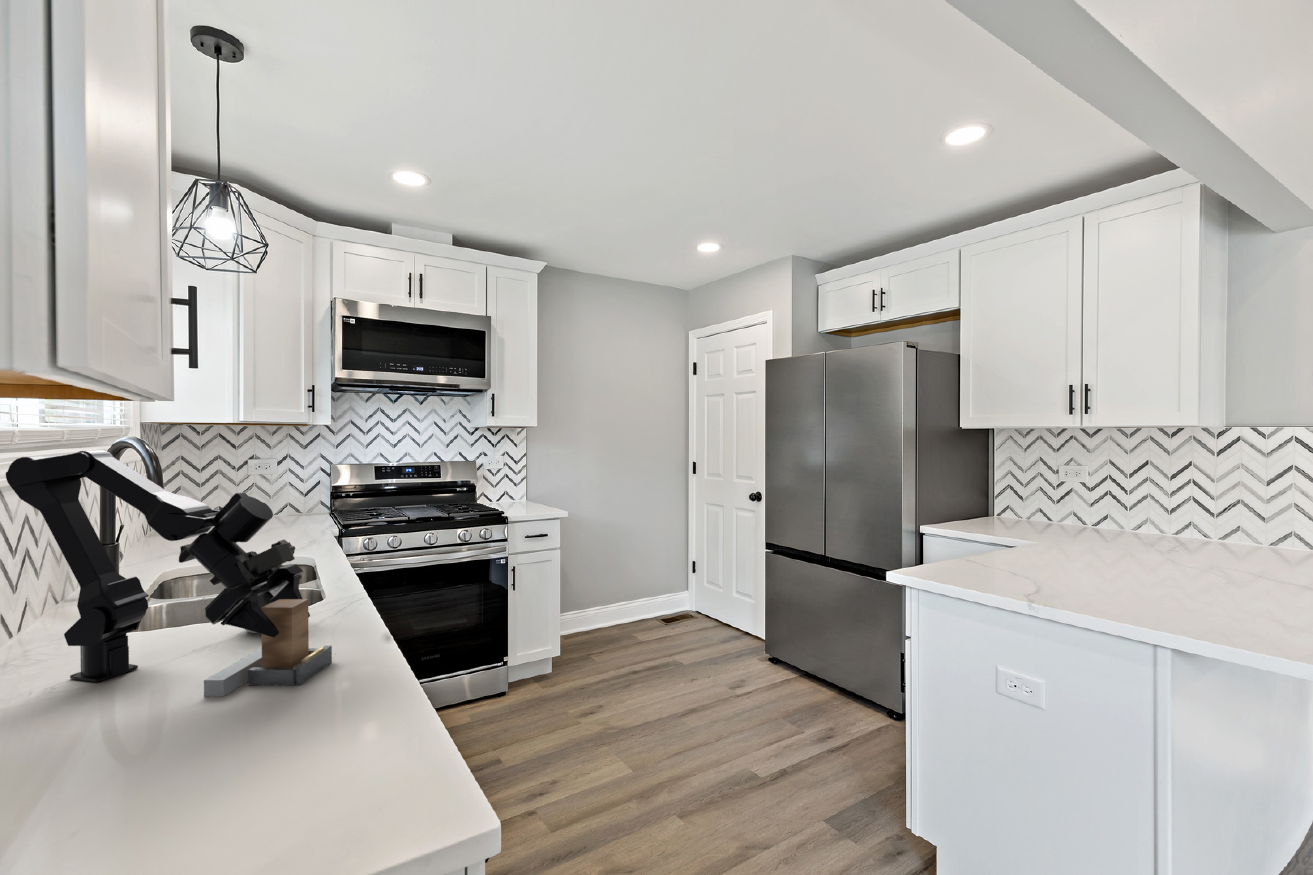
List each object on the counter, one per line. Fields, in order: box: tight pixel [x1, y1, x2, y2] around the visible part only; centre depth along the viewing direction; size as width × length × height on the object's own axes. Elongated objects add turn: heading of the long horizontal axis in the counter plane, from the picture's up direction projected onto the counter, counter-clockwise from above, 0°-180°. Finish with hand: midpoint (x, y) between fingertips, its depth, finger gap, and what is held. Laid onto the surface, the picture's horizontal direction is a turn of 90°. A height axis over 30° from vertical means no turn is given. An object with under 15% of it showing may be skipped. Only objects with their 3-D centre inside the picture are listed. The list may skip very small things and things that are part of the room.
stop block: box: [261, 598, 310, 667], centre depth 106 cm, size 5×5×12 cm
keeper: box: [247, 645, 333, 686], centre depth 106 cm, size 8×10×3 cm
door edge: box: [203, 647, 262, 697], centre depth 106 cm, size 3×18×2 cm, turn 1°
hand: (293, 626), depth 106 cm, fingers open, 9 cm apart
